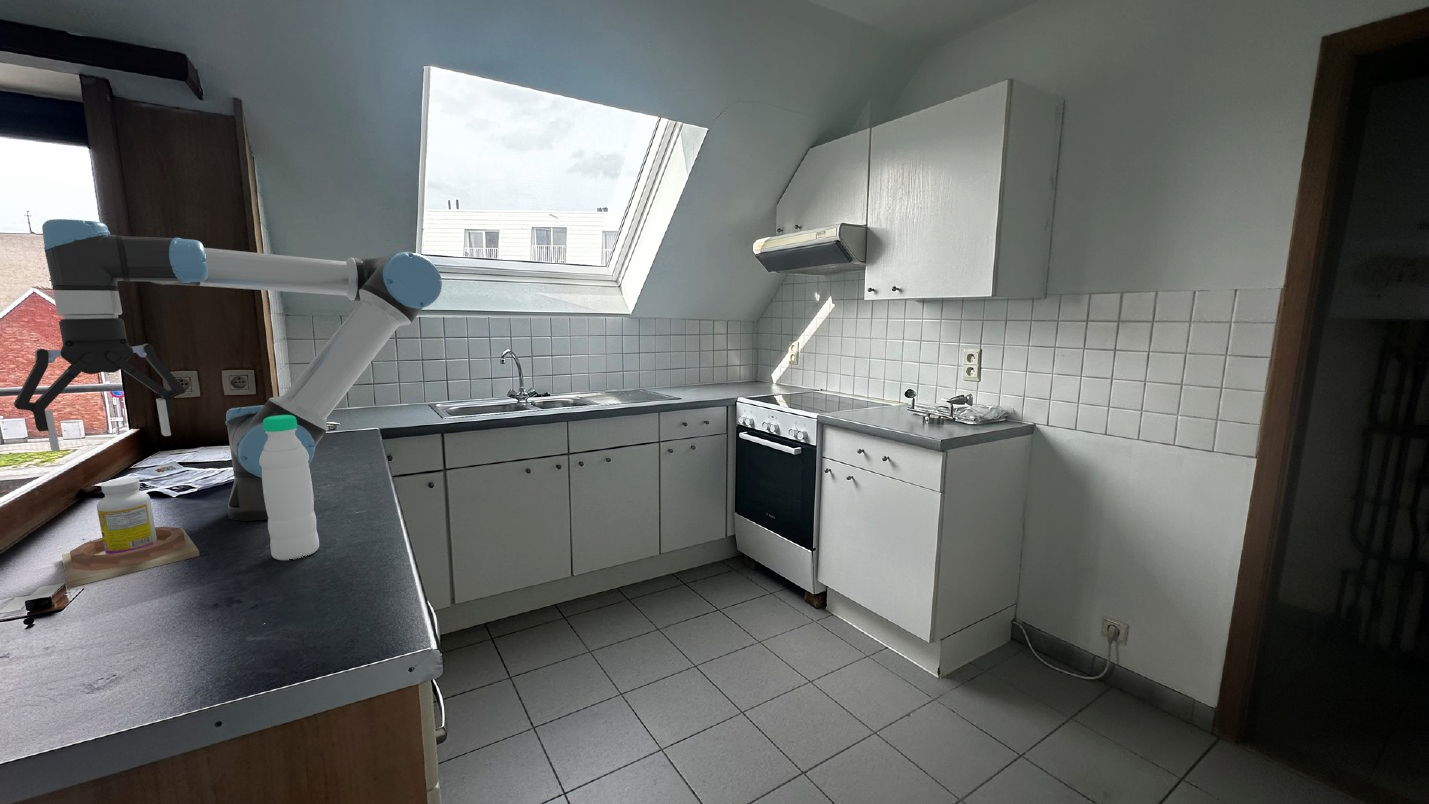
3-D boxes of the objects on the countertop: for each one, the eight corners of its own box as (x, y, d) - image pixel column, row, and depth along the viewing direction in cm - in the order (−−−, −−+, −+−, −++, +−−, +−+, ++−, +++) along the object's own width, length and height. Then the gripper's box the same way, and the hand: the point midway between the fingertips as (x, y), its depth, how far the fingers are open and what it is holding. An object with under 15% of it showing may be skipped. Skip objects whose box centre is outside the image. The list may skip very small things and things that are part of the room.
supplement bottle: (118, 547, 107) (106, 478, 105) (165, 542, 109) (154, 474, 107) (96, 562, 101) (83, 489, 98) (147, 556, 103) (135, 484, 101)
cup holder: (183, 533, 116) (181, 518, 116) (199, 555, 106) (197, 539, 105) (62, 559, 104) (59, 543, 104) (67, 587, 94) (64, 570, 93)
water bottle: (328, 549, 108) (313, 414, 104) (287, 564, 102) (269, 421, 98) (304, 543, 111) (288, 411, 107) (263, 557, 105) (244, 418, 101)
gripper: (183, 315, 110) (200, 427, 114) (-30, 319, 91) (-1, 453, 94) (194, 315, 106) (212, 431, 110) (-27, 319, 86) (3, 461, 90)
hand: (113, 442), depth 102 cm, fingers open, 13 cm apart
